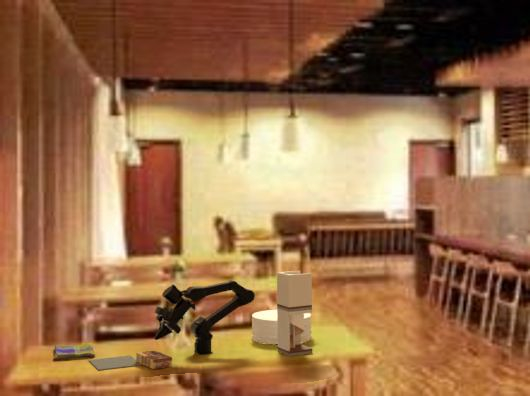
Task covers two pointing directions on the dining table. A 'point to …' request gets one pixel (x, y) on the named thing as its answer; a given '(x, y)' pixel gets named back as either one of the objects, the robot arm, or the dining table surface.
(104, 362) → the mat
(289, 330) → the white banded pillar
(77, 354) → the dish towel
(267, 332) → the plate stack
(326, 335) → the dining table surface
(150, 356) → the candy box
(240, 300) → the robot arm
